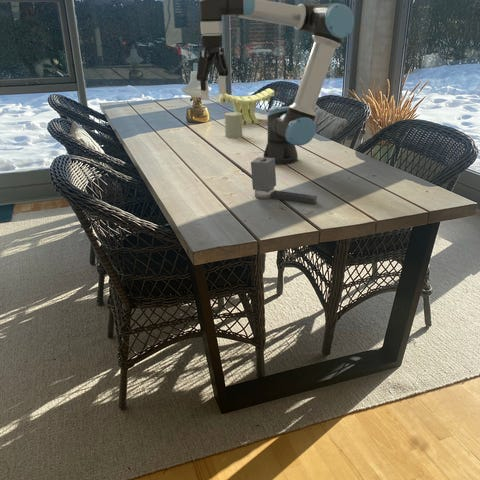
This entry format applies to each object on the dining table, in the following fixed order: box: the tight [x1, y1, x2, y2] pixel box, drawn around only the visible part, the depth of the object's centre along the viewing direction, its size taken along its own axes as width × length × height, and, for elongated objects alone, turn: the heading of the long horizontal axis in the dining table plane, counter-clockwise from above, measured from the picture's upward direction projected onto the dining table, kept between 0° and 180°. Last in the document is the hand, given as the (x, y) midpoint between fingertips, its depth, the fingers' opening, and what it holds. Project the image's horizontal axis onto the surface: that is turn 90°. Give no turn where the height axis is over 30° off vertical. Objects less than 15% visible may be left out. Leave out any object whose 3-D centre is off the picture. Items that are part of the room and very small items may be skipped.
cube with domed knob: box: [250, 157, 277, 191], centre depth 173 cm, size 6×6×10 cm
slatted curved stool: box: [218, 88, 275, 125], centre depth 288 cm, size 30×16×18 cm, turn 100°
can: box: [224, 111, 243, 139], centre depth 256 cm, size 9×9×12 cm
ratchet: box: [254, 187, 318, 206], centre depth 172 cm, size 7×22×6 cm, turn 65°
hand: (213, 96), depth 181 cm, fingers open, 13 cm apart
